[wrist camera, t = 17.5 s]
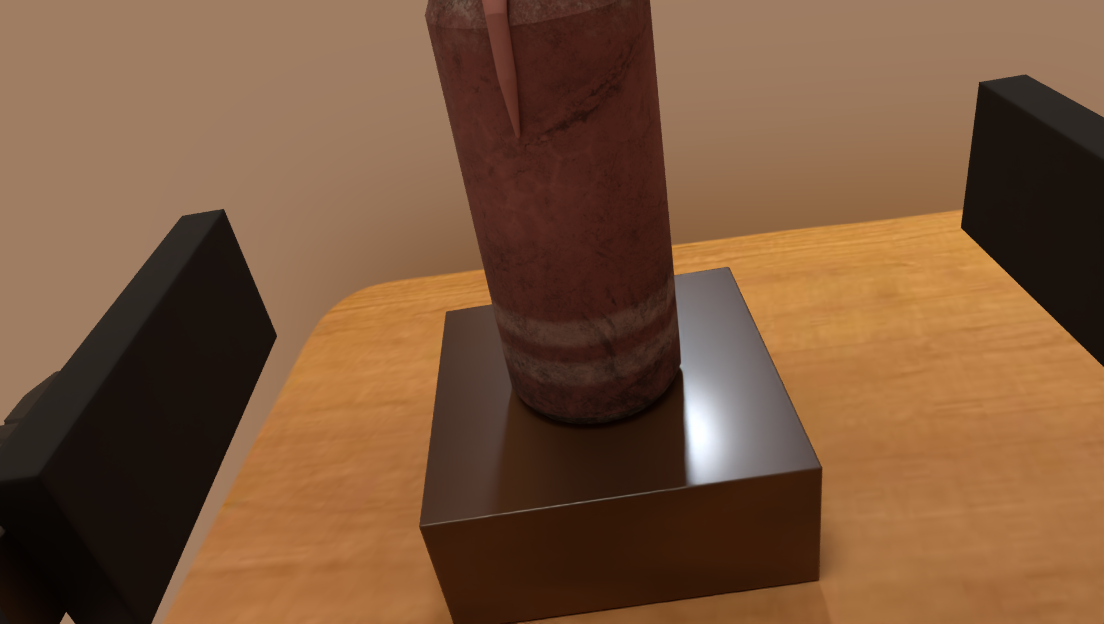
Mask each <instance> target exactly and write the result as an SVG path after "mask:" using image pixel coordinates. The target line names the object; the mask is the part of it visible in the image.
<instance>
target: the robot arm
mask: <svg viewBox="0 0 1104 624" xmlns="http://www.w3.org/2000/svg"><path fill="white" fill-rule="evenodd" d="M961 228H962V229H963V230H964V231H965V232H966V233H967V234H968V235H969V236H970V237H971V238H972V239H973V240H974V241H975V242H976V243H977V244H978V245H979V246H980V247H981V248H982V249H983V250H984V251H985V252H986V253H987V254H988V255H989V256H990V257H992V258H993V259H994V260H995V261H996V262H997V263H998V264H999V265H1000V266H1001V267H1002V268H1003V269H1004V270H1005V271H1006V272H1007V273H1008V274H1009V275H1010V276H1011V277H1012V278H1013V279H1014V280H1015V281H1016V282H1017V283H1018V284H1019V285H1020V286H1021V287H1022V288H1023V289H1024V290H1025V291H1026V292H1027V293H1028V294H1029V295H1031V296H1032V297H1033V298H1034V299H1035V300H1036V301H1037V302H1038V303H1039V304H1040V305H1041V306H1042V307H1043V308H1044V309H1045V310H1046V311H1047V312H1048V313H1049V314H1050V315H1051V316H1052V317H1053V318H1054V319H1055V320H1056V321H1057V322H1058V323H1059V324H1060V325H1061V326H1062V327H1063V328H1064V329H1065V330H1066V331H1067V332H1069V333H1070V334H1071V335H1072V336H1073V337H1074V338H1075V339H1076V340H1077V341H1078V342H1079V343H1080V344H1081V345H1082V346H1083V347H1084V348H1085V349H1086V350H1087V351H1088V352H1089V353H1090V354H1091V355H1092V356H1093V357H1094V358H1095V359H1096V360H1097V361H1098V362H1099V363H1100V364H1101V365H1102V366H1103V367H1104V117H1102V116H1100V115H1098V114H1097V113H1095V112H1093V111H1091V110H1089V109H1087V108H1086V107H1084V106H1082V105H1080V104H1078V103H1076V102H1075V101H1073V100H1071V99H1069V98H1067V97H1066V96H1064V95H1062V94H1060V93H1058V92H1057V91H1055V90H1053V89H1051V88H1049V87H1048V86H1046V85H1044V84H1042V83H1040V82H1038V81H1037V80H1035V79H1033V78H1031V77H1029V76H1028V75H1020V76H1014V77H1008V78H1002V79H996V80H990V81H984V82H979V88H978V97H977V104H976V112H975V120H974V129H973V136H972V144H971V152H970V160H969V168H968V176H967V184H966V191H965V199H964V207H963V215H962V223H961ZM276 337H277V335H276V332H275V330H274V328H273V325H272V323H271V320H270V318H269V315H268V313H267V311H266V308H265V306H264V304H263V301H262V299H261V297H260V294H259V292H258V289H257V287H256V285H255V282H254V280H253V277H252V275H251V273H250V270H249V268H248V266H247V263H246V261H245V258H244V256H243V254H242V251H241V249H240V247H239V244H238V242H237V239H236V237H235V234H234V232H233V230H232V228H231V225H230V223H229V220H228V218H227V215H226V213H225V211H224V209H221V210H215V211H209V212H203V213H197V214H191V215H185V216H182V217H181V218H180V219H179V220H178V222H177V223H176V224H175V226H174V227H173V228H172V229H171V231H170V232H169V233H168V234H167V236H166V237H165V238H164V240H163V241H162V242H161V243H160V245H159V246H158V247H157V249H156V250H155V251H154V252H153V254H152V255H151V256H150V258H149V259H148V260H147V261H146V262H145V264H144V265H143V266H142V268H141V269H140V270H139V271H138V273H137V274H136V275H135V276H134V278H133V279H132V280H131V282H130V283H129V284H128V285H127V287H126V288H125V289H124V290H123V292H122V293H121V294H120V295H119V297H118V298H117V299H116V301H115V302H114V303H113V304H112V306H111V307H110V308H109V309H108V311H107V312H106V313H105V315H104V316H103V317H102V318H101V320H100V321H99V322H98V323H97V325H96V326H95V327H94V329H93V330H92V331H91V332H90V334H89V335H88V336H87V337H86V339H85V340H84V341H83V343H82V344H81V345H80V347H79V348H78V349H77V350H76V351H75V353H74V354H73V355H72V357H71V358H70V359H69V360H68V362H67V363H66V364H65V366H64V367H63V368H62V369H61V371H58V372H55V373H53V374H52V375H51V376H49V377H48V378H47V379H46V380H44V381H43V382H42V383H40V384H39V385H38V386H36V387H35V388H34V389H32V390H31V391H30V392H29V393H27V394H26V395H25V396H24V397H23V398H22V399H21V401H20V402H19V403H18V404H17V405H16V407H15V408H14V409H13V410H12V412H11V413H10V414H9V415H8V417H7V418H6V419H5V420H4V422H5V425H2V426H0V624H60V622H61V620H62V618H63V617H64V615H65V613H66V612H67V614H68V615H69V616H70V617H71V619H72V620H73V621H74V623H75V624H151V623H152V621H153V618H154V617H155V614H156V612H157V610H158V607H159V605H160V603H161V601H162V598H163V596H164V594H165V591H166V589H167V587H168V585H169V582H170V580H171V578H172V575H173V573H174V571H175V568H176V566H177V564H178V562H179V559H180V557H181V555H182V552H183V550H184V548H185V545H186V543H187V541H188V539H189V536H190V534H191V532H192V530H193V527H194V525H195V523H196V520H197V518H198V516H199V513H200V511H201V509H202V507H203V504H204V502H205V500H206V497H207V495H208V493H209V491H210V488H211V486H212V484H213V482H214V479H215V477H216V475H217V472H218V470H219V468H220V465H221V463H222V461H223V459H224V456H225V454H226V452H227V449H228V447H229V445H230V443H231V440H232V438H233V436H234V433H235V431H236V429H237V427H238V424H239V422H240V420H241V418H242V415H243V413H244V411H245V408H246V406H247V404H248V401H249V399H250V397H251V395H252V392H253V390H254V388H255V385H256V383H257V381H258V379H259V376H260V374H261V372H262V369H263V367H264V365H265V362H266V360H267V358H268V356H269V354H270V351H271V349H272V346H273V344H274V342H275V340H276Z"/></svg>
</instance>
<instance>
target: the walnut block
mask: <svg viewBox="0 0 1104 624" xmlns="http://www.w3.org/2000/svg"><path fill="white" fill-rule="evenodd" d="M674 280H675V292H676V303H677V315H678V326H679V337H680V350H681V365H680V367H679V369H678V371H677V373H676V375H675V377H674V379H673V381H672V382H671V384H670V385H669V387H668V388H667V390H666V391H665V392H664V393H663V394H662V395H661V396H660V397H659V398H658V399H657V400H656V401H655V402H653V403H652V404H651V405H650V406H648V407H646V408H645V409H643V410H641V411H639V412H637V413H635V414H633V415H631V416H629V417H625V418H622V419H618V420H614V421H610V422H607V423H596V424H574V423H568V422H562V421H556V420H554V419H551V418H549V417H547V416H545V415H543V414H541V413H539V412H537V411H535V410H534V409H533V408H531V407H530V406H529V405H528V404H526V403H525V402H524V401H523V400H522V399H521V398H520V396H519V395H518V394H517V393H516V392H515V391H514V390H513V388H512V384H511V381H510V377H509V373H508V369H507V365H506V361H505V356H504V352H503V348H502V343H501V339H500V335H499V330H498V326H497V322H496V318H495V313H494V309H493V305H492V304H491V305H485V306H479V307H472V308H466V309H460V310H453V311H447V312H446V316H445V324H444V332H443V340H442V348H441V356H440V364H439V372H438V380H437V388H436V396H435V404H434V412H433V420H432V429H431V437H430V445H429V453H428V461H427V469H426V477H425V485H424V493H423V501H422V509H421V517H420V525H419V527H420V530H421V533H422V536H423V539H424V541H425V544H426V547H427V550H428V553H429V556H430V558H431V561H432V564H433V567H434V570H435V572H436V575H437V578H438V581H439V584H440V587H441V589H442V592H443V595H444V598H445V601H446V603H447V606H448V609H449V612H450V615H451V617H452V620H453V623H454V624H503V623H510V622H517V621H525V620H532V619H539V618H546V617H553V616H561V615H568V614H575V613H582V612H589V611H596V610H604V609H611V608H618V607H625V606H632V605H639V604H647V603H654V602H661V601H668V600H675V599H683V598H690V597H697V596H704V595H711V594H718V593H726V592H733V591H740V590H747V589H754V588H761V587H769V586H776V585H783V584H790V583H797V582H804V581H812V580H818V579H819V563H820V529H821V495H822V466H821V464H820V462H819V460H818V458H817V456H816V453H815V451H814V449H813V447H812V445H811V443H810V440H809V438H808V436H807V434H806V432H805V430H804V428H803V425H802V423H801V421H800V419H799V417H798V415H797V412H796V410H795V408H794V406H793V404H792V402H791V400H790V397H789V395H788V393H787V391H786V389H785V387H784V384H783V382H782V380H781V378H780V376H779V374H778V372H777V369H776V367H775V365H774V363H773V361H772V359H771V356H770V354H769V352H768V350H767V348H766V346H765V344H764V341H763V339H762V337H761V335H760V333H759V331H758V328H757V326H756V324H755V322H754V320H753V318H752V316H751V313H750V311H749V309H748V307H747V305H746V303H745V300H744V298H743V296H742V294H741V292H740V290H739V288H738V285H737V283H736V281H735V279H734V277H733V275H732V272H731V270H730V268H729V267H724V268H718V269H712V270H705V271H699V272H693V273H687V274H680V275H674Z"/></svg>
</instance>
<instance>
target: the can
mask: <svg viewBox="0 0 1104 624" xmlns="http://www.w3.org/2000/svg"><path fill="white" fill-rule="evenodd" d="M425 17H426V22H427V26H428V30H429V35H430V39H431V43H432V47H433V52H434V56H435V60H436V64H437V69H438V73H439V77H440V82H441V86H442V90H443V95H444V98H445V103H446V107H447V112H448V116H449V120H450V125H451V129H452V133H453V138H454V142H455V146H456V150H457V154H458V159H459V163H460V167H461V172H462V176H463V180H464V185H465V189H466V193H467V197H468V202H469V206H470V210H471V214H472V219H473V223H474V228H475V232H476V236H477V240H478V245H479V249H480V253H481V257H482V262H483V266H484V270H485V275H486V279H487V283H488V288H489V292H490V296H491V300H492V305H493V309H494V313H495V318H496V322H497V326H498V330H499V335H500V339H501V343H502V348H503V352H504V356H505V361H506V365H507V369H508V373H509V377H510V381H511V384H512V388H513V390H514V391H515V392H516V393H517V394H518V395H519V396H520V398H521V399H522V400H523V401H524V402H525V403H526V404H528V405H529V406H530V407H531V408H533V409H534V410H535V411H537V412H539V413H541V414H543V415H545V416H547V417H549V418H551V419H554V420H556V421H562V422H568V423H574V424H596V423H607V422H610V421H614V420H618V419H622V418H625V417H629V416H631V415H633V414H635V413H637V412H639V411H641V410H643V409H645V408H646V407H648V406H650V405H651V404H652V403H653V402H655V401H656V400H657V399H658V398H659V397H660V396H661V395H662V394H663V393H664V392H665V391H666V390H667V388H668V387H669V385H670V384H671V382H672V381H673V379H674V377H675V375H676V373H677V371H678V369H679V367H680V365H681V350H680V337H679V326H678V315H677V303H676V292H675V280H674V269H673V258H672V246H671V236H670V224H669V212H668V201H667V189H666V180H665V179H666V178H665V167H664V156H663V144H662V133H661V122H660V110H659V98H658V87H657V77H656V64H655V53H654V41H653V31H652V19H651V7H650V0H429V1H428V5H427V9H426V14H425Z"/></svg>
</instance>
